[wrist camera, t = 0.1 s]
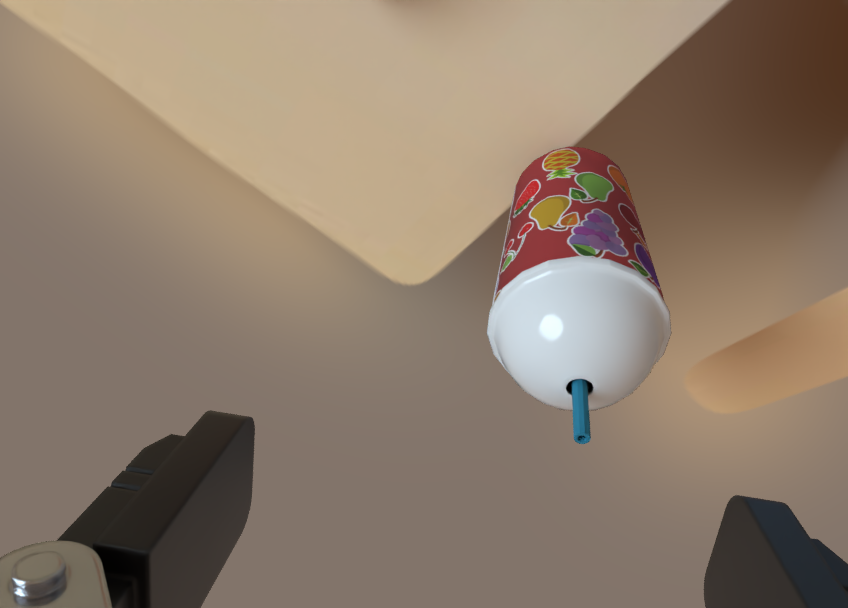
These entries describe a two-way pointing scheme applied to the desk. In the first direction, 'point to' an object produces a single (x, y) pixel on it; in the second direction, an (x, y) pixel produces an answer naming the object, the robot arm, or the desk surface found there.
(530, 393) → the smoothie
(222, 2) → the desk surface
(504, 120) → the desk surface
